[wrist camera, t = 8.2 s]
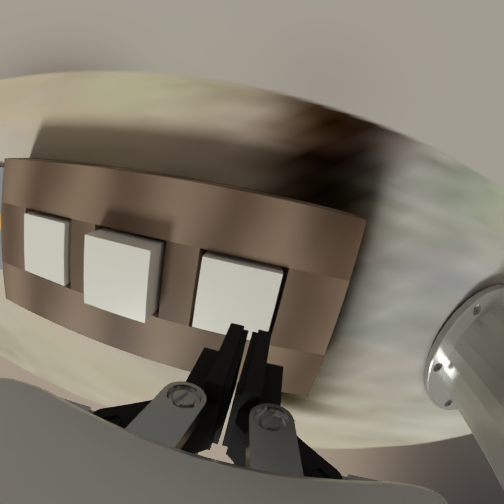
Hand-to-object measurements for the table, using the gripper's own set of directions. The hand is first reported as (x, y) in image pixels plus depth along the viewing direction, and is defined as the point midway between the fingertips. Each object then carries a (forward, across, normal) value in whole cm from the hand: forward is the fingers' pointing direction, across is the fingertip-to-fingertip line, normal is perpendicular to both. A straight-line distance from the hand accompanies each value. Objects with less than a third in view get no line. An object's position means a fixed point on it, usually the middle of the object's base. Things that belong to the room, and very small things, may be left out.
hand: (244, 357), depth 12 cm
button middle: (+6, +8, 0) cm, 10 cm away
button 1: (+7, +1, 0) cm, 7 cm away
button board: (+8, +8, 0) cm, 12 cm away
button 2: (+6, +15, 0) cm, 17 cm away
